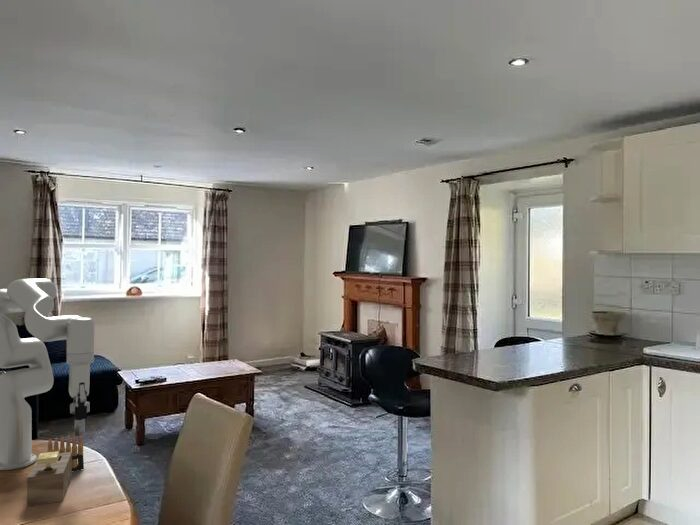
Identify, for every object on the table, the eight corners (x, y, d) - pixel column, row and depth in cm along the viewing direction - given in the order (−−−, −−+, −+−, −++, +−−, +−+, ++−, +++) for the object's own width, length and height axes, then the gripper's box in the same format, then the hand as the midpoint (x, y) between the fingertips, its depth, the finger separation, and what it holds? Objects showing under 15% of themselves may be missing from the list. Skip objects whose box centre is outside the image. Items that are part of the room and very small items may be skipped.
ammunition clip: (46, 477, 167) (46, 439, 167) (46, 475, 168) (46, 437, 168) (83, 469, 173) (84, 433, 173) (83, 467, 174) (83, 431, 174)
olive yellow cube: (40, 468, 154) (40, 453, 154) (59, 466, 156) (59, 451, 156) (36, 475, 149) (36, 459, 149) (56, 472, 151) (56, 457, 151)
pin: (69, 433, 162) (69, 402, 162) (88, 430, 165) (88, 400, 165) (70, 438, 157) (70, 407, 157) (90, 435, 160) (90, 404, 160)
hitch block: (39, 480, 164) (39, 455, 164) (71, 476, 167) (71, 451, 167) (27, 506, 147) (27, 477, 147) (63, 500, 150) (63, 473, 150)
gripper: (64, 354, 166) (63, 411, 166) (69, 363, 152) (68, 426, 152) (90, 352, 170) (89, 408, 170) (97, 361, 156) (96, 422, 156)
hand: (79, 416), depth 161 cm, fingers closed on pin, 5 cm apart
